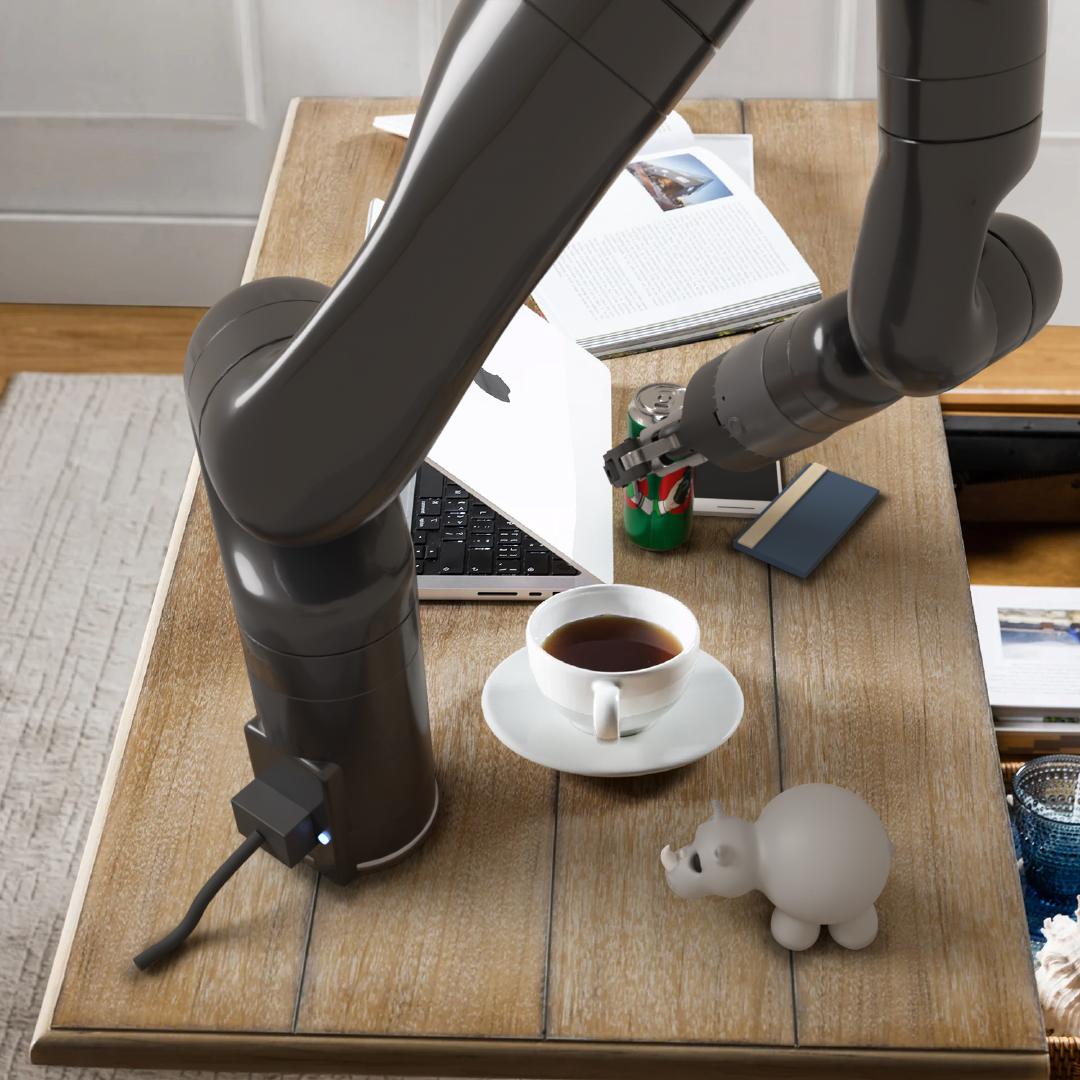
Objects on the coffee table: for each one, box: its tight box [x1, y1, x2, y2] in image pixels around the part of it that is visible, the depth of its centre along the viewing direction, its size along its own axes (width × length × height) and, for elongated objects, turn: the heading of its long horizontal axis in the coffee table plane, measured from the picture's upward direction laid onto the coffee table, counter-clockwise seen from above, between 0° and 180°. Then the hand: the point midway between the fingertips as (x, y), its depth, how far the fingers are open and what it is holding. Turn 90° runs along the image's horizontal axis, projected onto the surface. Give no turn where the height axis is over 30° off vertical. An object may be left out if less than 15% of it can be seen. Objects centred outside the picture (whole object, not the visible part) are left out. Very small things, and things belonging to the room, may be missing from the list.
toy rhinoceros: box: [660, 782, 896, 952], centre depth 67 cm, size 7×12×8 cm, turn 89°
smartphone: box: [693, 460, 783, 519], centre depth 102 cm, size 7×15×1 cm, turn 175°
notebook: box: [732, 461, 880, 580], centre depth 96 cm, size 12×6×1 cm, turn 143°
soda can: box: [622, 381, 697, 553], centre depth 91 cm, size 5×5×12 cm
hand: (644, 460), depth 92 cm, fingers closed on soda can, 5 cm apart
